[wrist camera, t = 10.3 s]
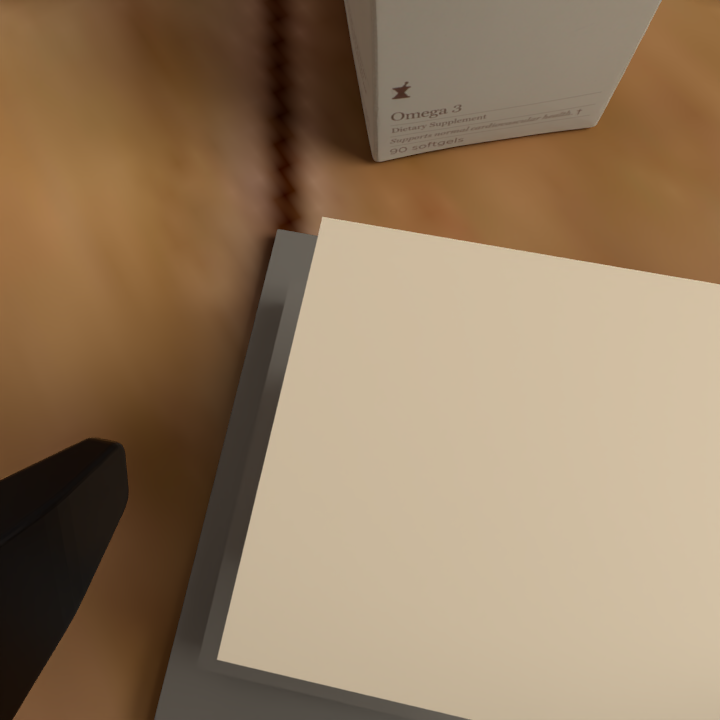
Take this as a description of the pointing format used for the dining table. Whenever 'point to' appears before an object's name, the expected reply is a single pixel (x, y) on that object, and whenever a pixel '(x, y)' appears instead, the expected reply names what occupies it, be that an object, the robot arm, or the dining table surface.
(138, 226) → the dining table surface
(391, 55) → the supplement box
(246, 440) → the tray
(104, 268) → the dining table surface
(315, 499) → the cream block
